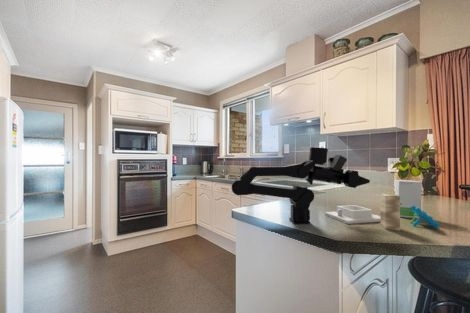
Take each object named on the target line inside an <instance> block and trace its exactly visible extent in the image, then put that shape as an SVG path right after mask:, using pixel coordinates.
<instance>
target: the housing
mask: <svg viewBox="0 0 470 313" xmlns="http://www.w3.org/2000/svg"><path fill="white" fill-rule="evenodd" d="M324 215H325V216H326V217H329V218H332V219H334V220H337V221H338V222H341V223H344V224H346V225H350V224H351V225H352V224H363V223H364V224H365V223H375V222H376V223H377V222H381V215H377V214H373V209H370V208H369V207H363V206H360V205H356V204H352V205H336V211H324Z"/></svg>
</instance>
